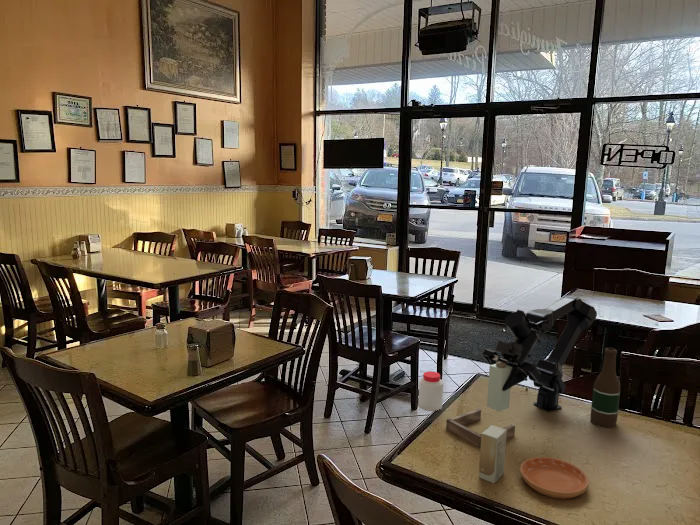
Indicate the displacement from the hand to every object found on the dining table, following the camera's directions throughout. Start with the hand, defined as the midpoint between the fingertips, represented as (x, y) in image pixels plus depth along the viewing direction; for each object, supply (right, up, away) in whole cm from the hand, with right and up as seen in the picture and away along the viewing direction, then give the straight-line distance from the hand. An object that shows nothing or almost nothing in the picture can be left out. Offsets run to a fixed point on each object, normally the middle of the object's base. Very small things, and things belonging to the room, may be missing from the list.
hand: (496, 387), depth 161 cm
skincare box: (-8, -17, -25) cm, 31 cm away
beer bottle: (+35, -13, +7) cm, 38 cm away
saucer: (+7, -18, -27) cm, 33 cm away
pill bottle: (-17, -10, +16) cm, 26 cm away
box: (-5, -13, -2) cm, 14 cm away
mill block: (+1, -6, +2) cm, 7 cm away
